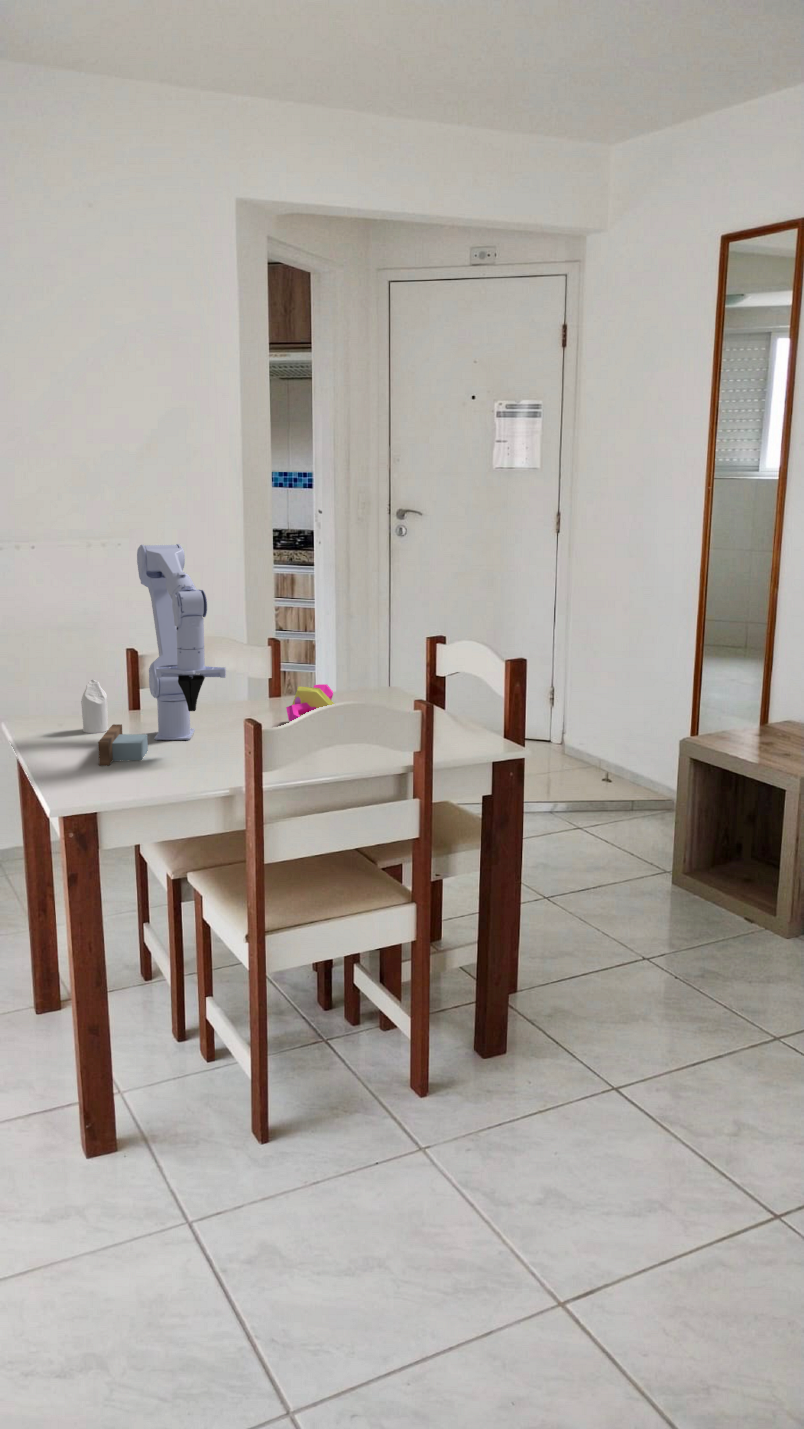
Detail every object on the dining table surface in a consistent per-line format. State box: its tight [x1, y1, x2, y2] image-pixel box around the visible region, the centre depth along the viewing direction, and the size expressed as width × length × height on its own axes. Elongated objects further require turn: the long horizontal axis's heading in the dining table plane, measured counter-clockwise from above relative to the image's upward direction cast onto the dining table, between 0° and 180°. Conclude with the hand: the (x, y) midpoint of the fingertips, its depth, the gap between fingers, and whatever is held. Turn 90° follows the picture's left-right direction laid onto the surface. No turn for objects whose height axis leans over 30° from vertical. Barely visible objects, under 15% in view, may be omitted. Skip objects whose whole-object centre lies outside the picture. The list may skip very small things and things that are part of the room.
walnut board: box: [97, 723, 123, 767], centre depth 239 cm, size 16×2×5 cm, turn 4°
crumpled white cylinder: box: [80, 679, 109, 734], centre depth 261 cm, size 6×12×6 cm
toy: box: [285, 683, 335, 722], centre depth 272 cm, size 10×18×10 cm, turn 160°
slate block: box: [112, 733, 149, 762], centre depth 240 cm, size 8×6×4 cm
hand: (192, 710), depth 241 cm, fingers closed
